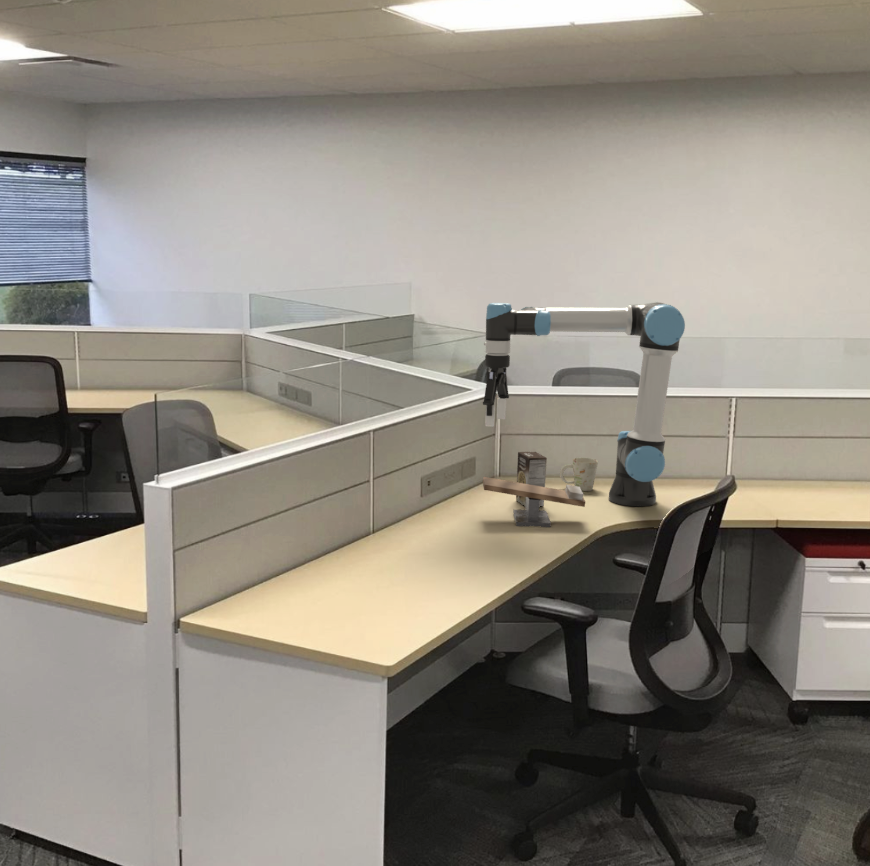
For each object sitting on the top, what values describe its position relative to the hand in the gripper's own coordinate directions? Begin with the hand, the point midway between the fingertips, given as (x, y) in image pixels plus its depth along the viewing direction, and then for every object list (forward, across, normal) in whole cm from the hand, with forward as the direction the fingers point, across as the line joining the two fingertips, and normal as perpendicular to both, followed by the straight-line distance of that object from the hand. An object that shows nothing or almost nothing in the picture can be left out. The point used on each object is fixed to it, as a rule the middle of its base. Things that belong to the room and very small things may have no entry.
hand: (495, 422), depth 310 cm
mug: (+27, -34, +20) cm, 48 cm away
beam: (+19, +11, +15) cm, 26 cm away
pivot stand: (+27, +11, +15) cm, 32 cm away
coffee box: (+27, -8, +10) cm, 30 cm away
